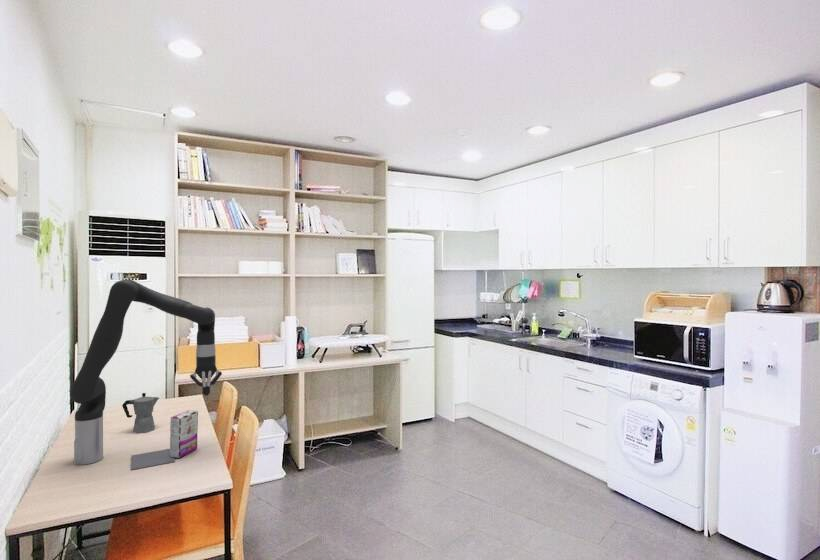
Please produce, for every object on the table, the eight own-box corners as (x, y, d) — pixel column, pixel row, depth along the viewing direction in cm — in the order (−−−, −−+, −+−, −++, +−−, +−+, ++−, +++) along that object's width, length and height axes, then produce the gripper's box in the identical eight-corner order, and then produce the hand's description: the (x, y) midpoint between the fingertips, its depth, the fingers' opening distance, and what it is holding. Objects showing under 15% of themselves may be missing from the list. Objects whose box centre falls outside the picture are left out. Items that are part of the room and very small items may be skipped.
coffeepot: (157, 425, 224) (157, 389, 224) (161, 429, 217) (161, 392, 217) (121, 431, 215) (120, 394, 215) (124, 437, 207) (123, 398, 207)
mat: (130, 470, 171) (130, 469, 171) (131, 456, 185) (131, 455, 185) (174, 462, 179) (174, 461, 179) (172, 449, 193) (172, 448, 193)
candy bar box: (187, 447, 193) (188, 409, 194) (197, 449, 192) (199, 410, 193) (168, 457, 182) (170, 416, 183) (179, 458, 181) (180, 417, 182)
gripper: (189, 357, 185) (189, 399, 185) (223, 354, 192) (224, 394, 192) (187, 354, 192) (188, 395, 192) (221, 352, 198) (221, 391, 199)
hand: (206, 395), depth 192 cm, fingers closed
